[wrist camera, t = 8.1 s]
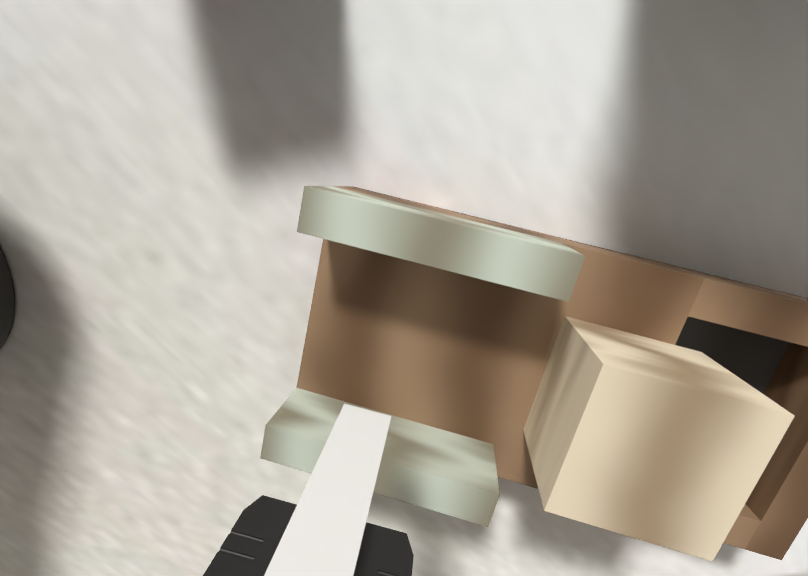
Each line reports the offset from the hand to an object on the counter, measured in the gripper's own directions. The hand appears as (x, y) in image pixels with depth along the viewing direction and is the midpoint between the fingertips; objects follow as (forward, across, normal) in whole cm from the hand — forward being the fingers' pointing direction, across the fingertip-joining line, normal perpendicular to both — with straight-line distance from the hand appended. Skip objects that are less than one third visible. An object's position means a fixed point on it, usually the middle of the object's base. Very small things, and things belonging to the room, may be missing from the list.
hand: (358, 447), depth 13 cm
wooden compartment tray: (+14, +10, 0) cm, 17 cm away
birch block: (+10, +12, 0) cm, 15 cm away
